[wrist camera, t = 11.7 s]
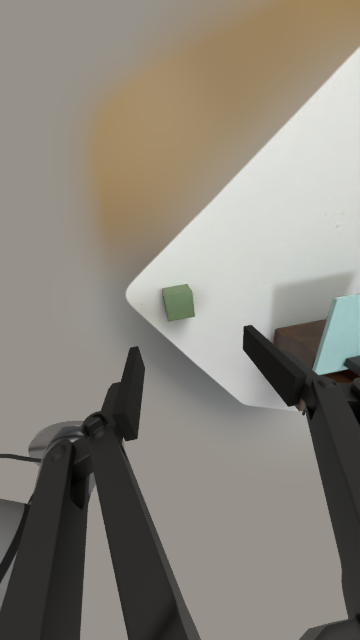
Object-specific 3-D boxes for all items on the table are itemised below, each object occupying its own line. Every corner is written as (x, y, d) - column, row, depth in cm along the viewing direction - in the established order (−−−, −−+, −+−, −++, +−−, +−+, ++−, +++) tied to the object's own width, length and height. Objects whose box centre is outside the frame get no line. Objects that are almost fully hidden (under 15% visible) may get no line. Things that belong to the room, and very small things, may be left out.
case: (269, 375, 42) (299, 411, 33) (275, 328, 36) (314, 357, 27) (327, 363, 43) (372, 395, 34) (343, 315, 36) (403, 339, 27)
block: (167, 311, 31) (168, 321, 27) (162, 288, 29) (163, 295, 25) (190, 307, 31) (194, 316, 27) (187, 284, 29) (191, 290, 25)
